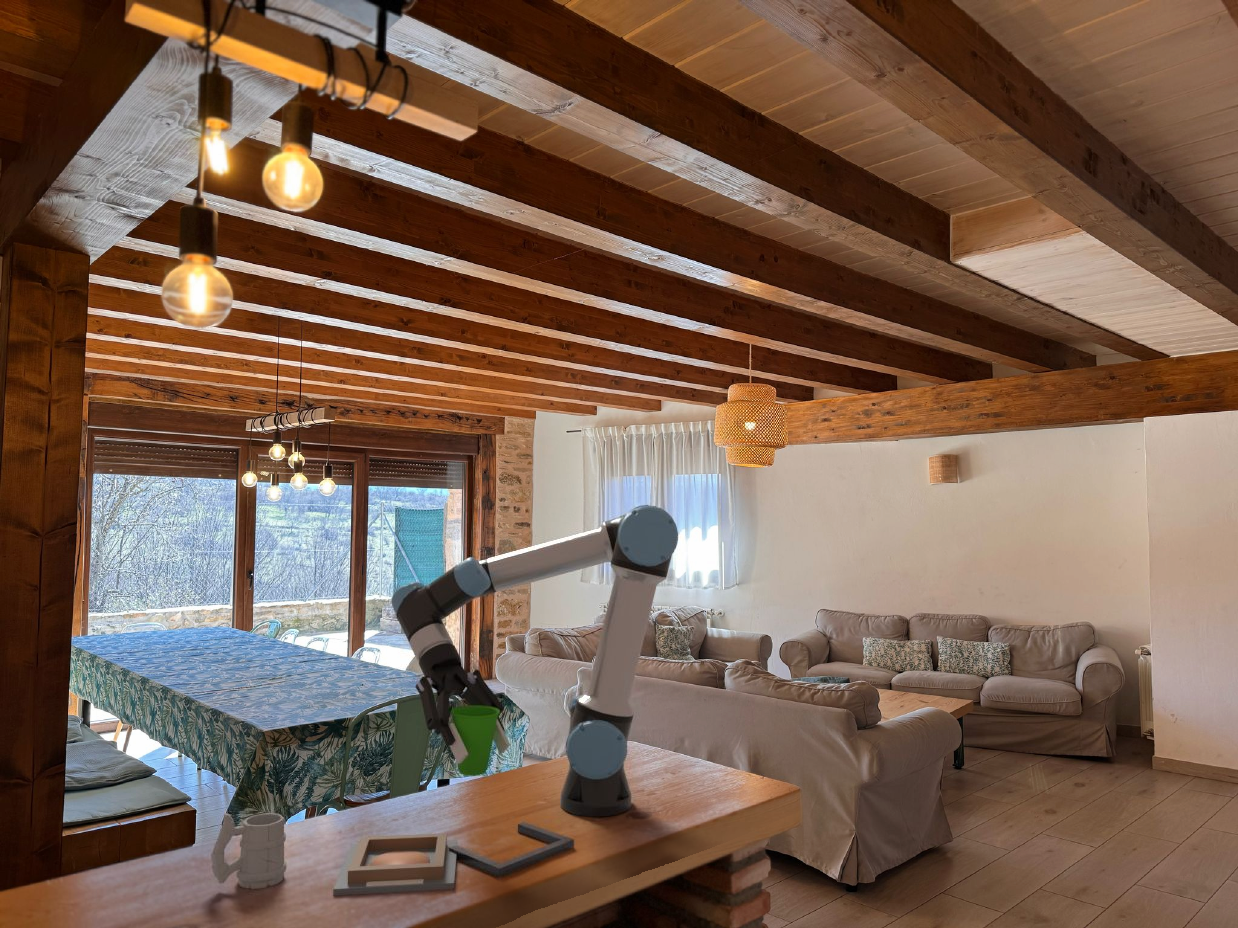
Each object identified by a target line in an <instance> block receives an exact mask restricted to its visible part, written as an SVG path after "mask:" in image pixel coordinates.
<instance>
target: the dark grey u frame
mask: <svg viewBox="0 0 1238 928" xmlns="http://www.w3.org/2000/svg"><path fill="white" fill-rule="evenodd" d="M517 832H518V833H519V834H522V835H525V836H529V837H530V838H534V839H536V840H537V841H542V842H544V843H547V845H544V846H542V847H539V848H536V849H534V850H531V851H529V852H526V853H523V854H521V855H518V856H515V857H512V858H510V859H507V860H505V861H502V862H499V861H495V860H493V859H491V858H488V857H486V856H484V855H481V854H479V853H477V852H474V851H473V850H472V851H471V850H469V849H467V848H464V847H461V846H459V845H458V844H457V845H455V846H452V847H449V851H451V852H454V853H456V861H459V862H462V863H464V864H466V865H467V866H471V867H473V868H475V869H478V870H480V871H482V872H484V873H487V874H489V875H491V876H494V877H497V878H502V877H504V876H507V875H509V874H512V873H513V872H517V871H519V870H522V869H525V868H527V867H529V866H532V865H535V864H537V863H539V862H543V861H545V860H547V859H549V858H552V857H554V856H557V855H560V854H562V853H564V852H567V851H569V850H572V849H574V848H575V839H574V838H571V837H568V836H564V835H562V834H560V833H557V832H554V831H551V830H548V829H545V828H542V827H540V826H536V825H534V824H532V823H529V822H525V821H523V822H520V823H517Z"/></svg>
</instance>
